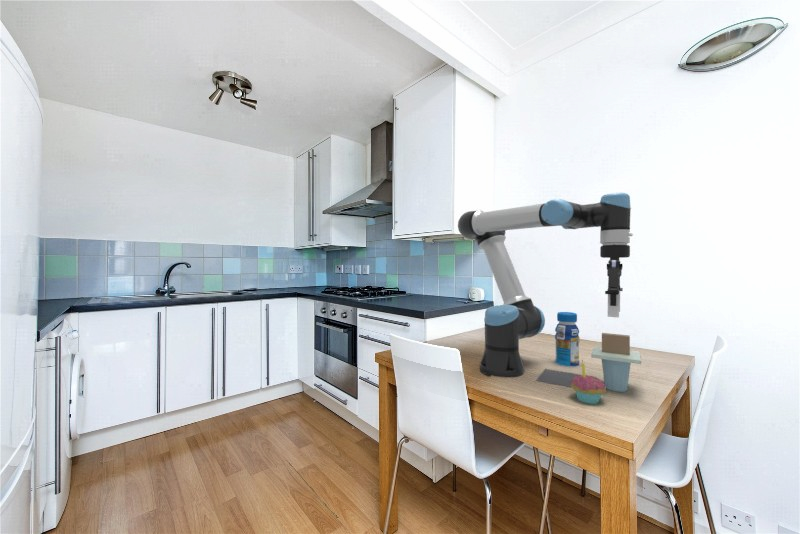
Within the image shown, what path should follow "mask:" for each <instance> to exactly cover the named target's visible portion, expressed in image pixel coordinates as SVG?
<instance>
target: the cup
mask: <svg viewBox="0 0 800 534" xmlns="http://www.w3.org/2000/svg"><path fill="white" fill-rule="evenodd" d="M631 364H632V363H628V362H621V361H613V360H606V359H601V366H602V374H603V380H604V381H603V383H604V384H605V388H606V389H608V390H610V391H614V392H618V393H619V392H623V393H624V392H627V391H628V386H629V380H630V379H629V378H630V370H631Z"/></svg>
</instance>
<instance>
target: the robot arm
mask: <svg viewBox="0 0 800 534" xmlns="http://www.w3.org/2000/svg"><path fill="white" fill-rule="evenodd" d="M599 201H600V202H596V203H589V204H580V203H575V202H571V201H568V200H565V199H563V198H562V199H559V198H558V199H556V198H555V199H550V200H548V201H546V202H544V203H538V204H537V203H536V204H531V205H525V206H518V207H511V208H503V209H499V210H490V211H483V210H481V209H479V210H471V211H466V212H464V213H463V214H462V215H460V217H459V219H458V222H457V230H458V232H459V233H460V235H461V236H462V237H463V238H465V239H468V240H474V241H476V244H477V246H478V248H479V249H480V250H483V251H484V254H485V257H486V259H487V262H488V265H489V267H490V270H491V273H492V275H493V278H494V281H495V283H496V286H497V288H498V290H499V293H500V296H501V299H502V301H503V304H499V305H493V306H490V307H488V308H487V309H485V312H484V317H483V319H484V351H483V354H482V358H481V359H480V364H479V370H480V372H481V373H482V374H484V375H487V376H490V377H491V376H494V377H499V378H518V377H521V376H523V375H524V374H525V366H524V363H523V360H522V357H521V355H520V349H519V348H520V341H519V340H522V339H527V338H528V339H529V338H532V337H535V336H536V335H539V334H540V333H541V332H542V331H543V329H544V328H545V325H546V319H545V315H544V312H543V311H542V309H540V307H538V306H536V305H534V303H533V300H532V298H531V297H528V296H526V294H525V291H524V288H523V286H522V284H521V282H520V279H519V277H518V274H517V272H516V270H515V267H514V264H513V263H512V260H511V258H510V255H509V252H508V249H507V248H506V245H505V241H506V238H507V237H506V231H511V230H513V231H514V230H524V229H533V228H544V227H558V226H559V227H560V226H561V227H562V228H563V229H564V230H577V229H586V228H587V229H588V228H595V227H596V228H598V227H599V228H600V232H599V233H600V234H599V236H600V238H599V239H600V240H599V243H600V245H601V246H600V249H599V251H600V253H599V255H600V256H599V257H601V258H603V259H604V258H605V259H606V258H608V259H609V260H608V262H607V263H606V271H607V273H606V274H607V277H608V279H607V280H608V281H607V283H608V284H607V290H605V291H604V294H605V295H607V317H610V318H620V312H621V292H623V289H624V288H623V287H621V277H622V270H623V263H621V260H620V259H622V258H630V256H631V246H630V245H629V244H630V242H631V241H630V239H631V237H633V236H634V234H633V233H632V232H631V209H632V207H631V196H630V194H628V193H627V192H626V193H625V192H613V193H606V194H603V195H601V197H600V200H599Z"/></svg>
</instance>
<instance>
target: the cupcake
mask: <svg viewBox="0 0 800 534" xmlns="http://www.w3.org/2000/svg"><path fill="white" fill-rule="evenodd" d="M580 363H581V371H582V374H579V376H576V377H573V379H572V380H571V387H572V388H571V389H573V390H574V392H575V394H576V397H577V400H578V401H580V402H583V403H585V404H591V405H593V404H594V405H595V404H598V403H599V401H600V399H601V397H602V396H603V395H604V394H605V393H606V389H607V388H606V387H605V383H604V381H601V380H600V379H599V378H597V377H595V376H593V375H587V374H586V366H585V362H584V361H583V359H581V362H580Z"/></svg>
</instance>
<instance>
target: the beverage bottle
mask: <svg viewBox="0 0 800 534" xmlns="http://www.w3.org/2000/svg"><path fill="white" fill-rule="evenodd" d="M577 314H578V313H576V312H571V311H559V312H557V313H556V315H557V316H556V319H557V322H558V323H557V324H556V327H555V329H554V332H555V335H554V339H555V364H557V365H558V366H562V367H566V368H567V367H568V368H578V367H580V341H581V338H580V335H579V334H580V329H579V327H578V325H577V324H576V323H577V322H578V315H577Z"/></svg>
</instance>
